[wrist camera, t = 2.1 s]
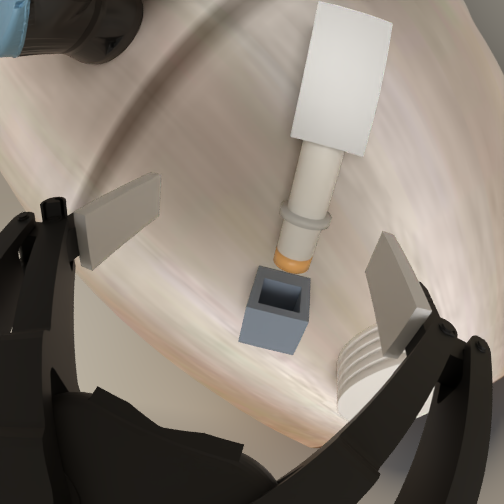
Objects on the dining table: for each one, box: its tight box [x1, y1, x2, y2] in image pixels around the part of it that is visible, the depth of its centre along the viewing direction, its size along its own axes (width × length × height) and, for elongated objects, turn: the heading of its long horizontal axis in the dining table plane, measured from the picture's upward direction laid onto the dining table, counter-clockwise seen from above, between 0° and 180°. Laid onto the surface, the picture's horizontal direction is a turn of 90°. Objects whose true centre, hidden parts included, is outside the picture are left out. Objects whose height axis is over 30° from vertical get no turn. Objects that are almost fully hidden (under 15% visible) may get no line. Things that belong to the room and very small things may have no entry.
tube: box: [273, 140, 345, 274], centre depth 29 cm, size 32×7×7 cm, turn 170°
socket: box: [238, 266, 310, 355], centre depth 44 cm, size 8×9×10 cm
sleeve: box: [290, 1, 393, 157], centre depth 25 cm, size 16×8×10 cm, turn 170°
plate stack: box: [337, 324, 435, 422], centre depth 48 cm, size 28×28×12 cm
